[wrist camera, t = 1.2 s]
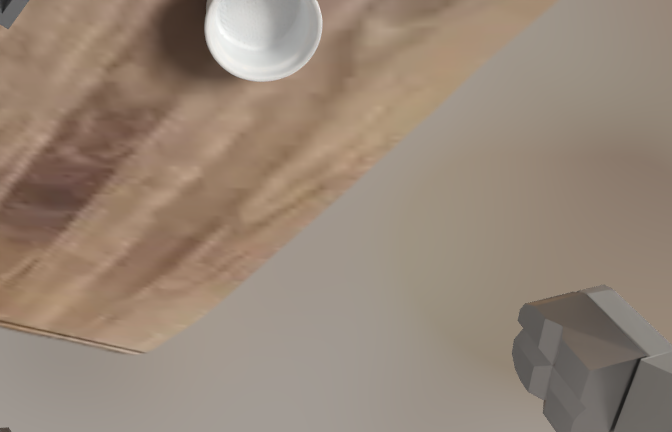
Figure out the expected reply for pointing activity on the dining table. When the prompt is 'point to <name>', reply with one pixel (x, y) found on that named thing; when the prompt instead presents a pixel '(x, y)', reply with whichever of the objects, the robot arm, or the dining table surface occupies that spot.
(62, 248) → the dining table surface
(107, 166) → the dining table surface
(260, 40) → the ramekin
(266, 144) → the dining table surface
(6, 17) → the tray
